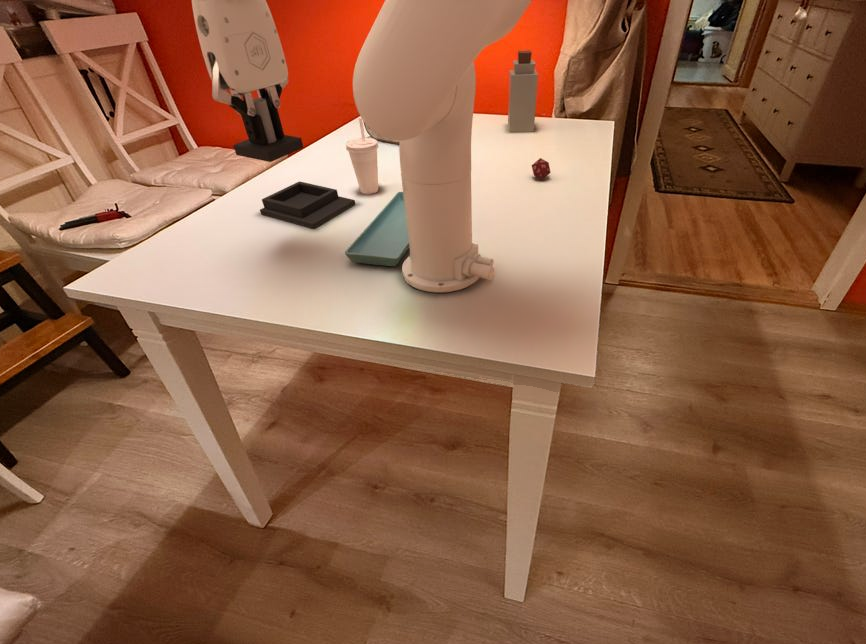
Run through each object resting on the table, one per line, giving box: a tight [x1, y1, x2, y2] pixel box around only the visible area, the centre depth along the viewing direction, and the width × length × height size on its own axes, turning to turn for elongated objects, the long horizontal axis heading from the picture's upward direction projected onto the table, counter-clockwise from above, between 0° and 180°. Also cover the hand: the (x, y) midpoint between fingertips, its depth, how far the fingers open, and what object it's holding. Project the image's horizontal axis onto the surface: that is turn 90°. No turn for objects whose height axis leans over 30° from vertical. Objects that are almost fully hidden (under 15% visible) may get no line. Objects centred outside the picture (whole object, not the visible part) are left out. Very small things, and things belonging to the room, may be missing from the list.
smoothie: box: [345, 117, 379, 195], centre depth 93 cm, size 6×6×14 cm
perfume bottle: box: [507, 49, 539, 133], centre depth 122 cm, size 7×7×18 cm
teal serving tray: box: [344, 191, 410, 267], centre depth 82 cm, size 26×9×2 cm, turn 167°
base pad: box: [259, 181, 356, 230], centre depth 91 cm, size 14×12×3 cm
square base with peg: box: [232, 97, 304, 163], centre depth 68 cm, size 7×7×7 cm
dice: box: [531, 157, 551, 181], centre depth 99 cm, size 4×4×4 cm
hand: (267, 139), depth 69 cm, fingers closed on square base with peg, 2 cm apart
